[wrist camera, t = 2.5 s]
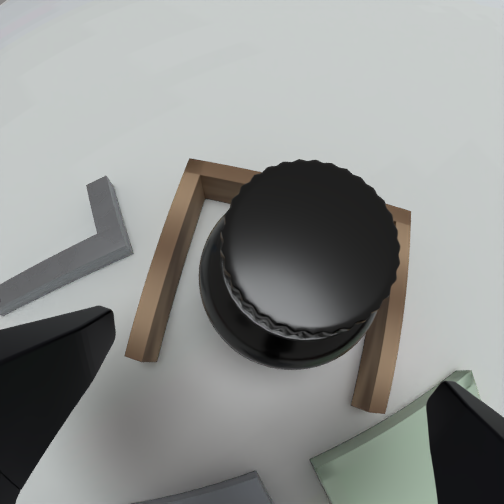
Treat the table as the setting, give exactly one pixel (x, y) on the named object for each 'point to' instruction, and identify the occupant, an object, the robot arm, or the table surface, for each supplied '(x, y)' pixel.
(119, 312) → the table surface
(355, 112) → the table surface
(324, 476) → the tray
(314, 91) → the table surface
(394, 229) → the supplement bottle
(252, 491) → the hole plate
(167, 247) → the u-shaped bracket
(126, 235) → the crook tool
